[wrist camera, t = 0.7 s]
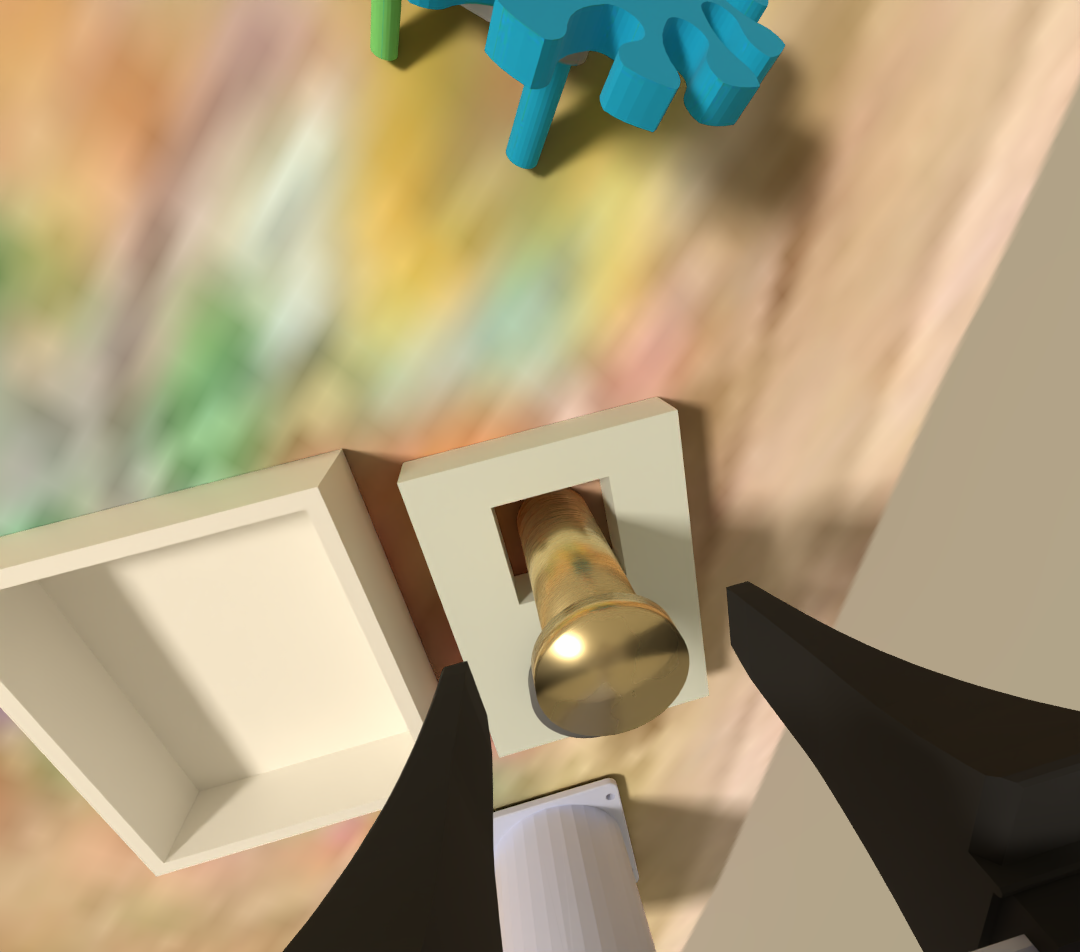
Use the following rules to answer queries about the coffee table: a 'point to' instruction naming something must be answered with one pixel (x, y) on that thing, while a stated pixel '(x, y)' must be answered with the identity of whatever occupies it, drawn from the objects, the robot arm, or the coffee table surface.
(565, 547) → the pin
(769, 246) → the coffee table surface
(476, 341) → the coffee table surface
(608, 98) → the gear
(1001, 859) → the robot arm
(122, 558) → the tray
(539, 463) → the block
